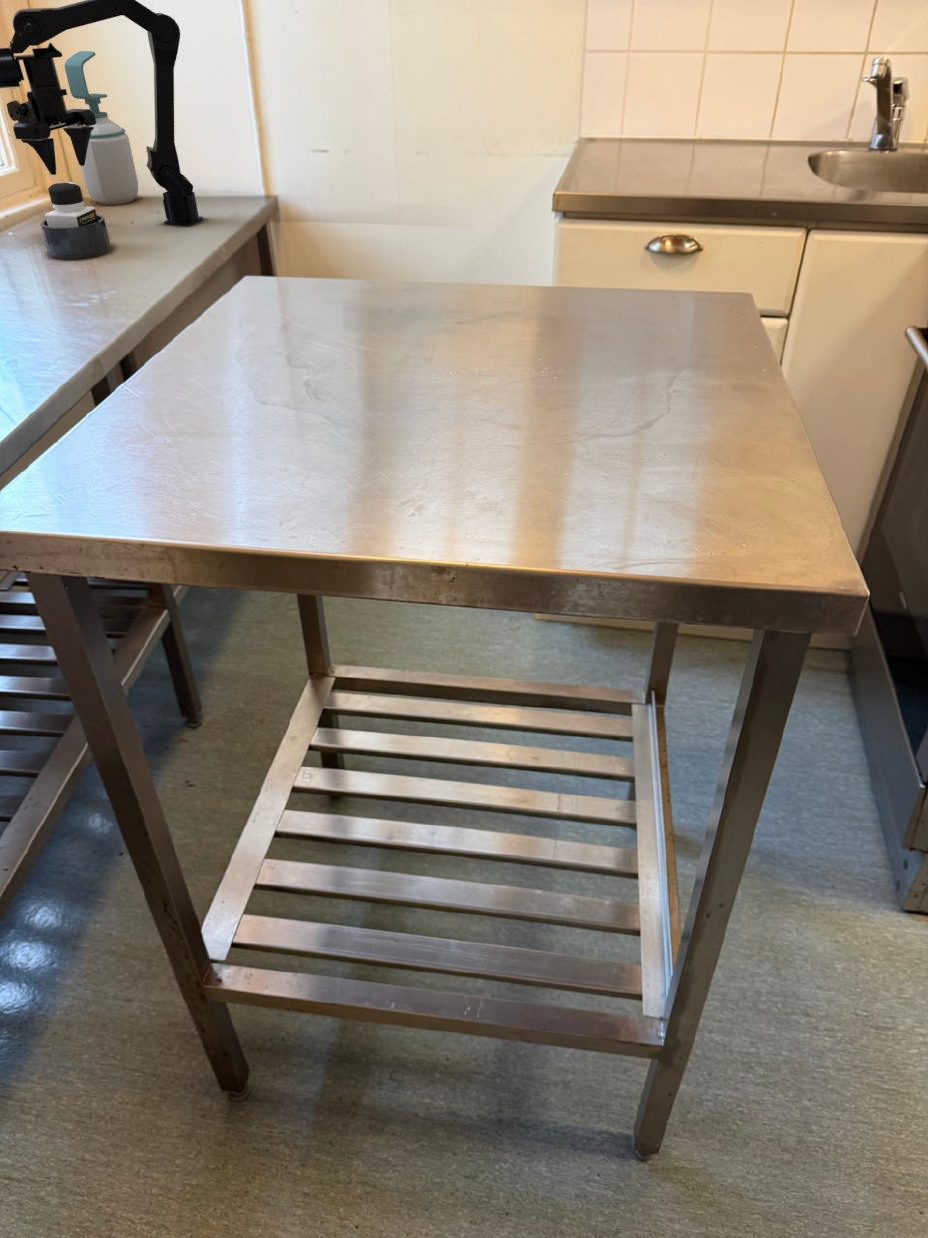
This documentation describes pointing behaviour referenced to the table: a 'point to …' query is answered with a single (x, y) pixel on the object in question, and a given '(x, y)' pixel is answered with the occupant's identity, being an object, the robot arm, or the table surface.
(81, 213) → the medicine bottle
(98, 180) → the soap bottle
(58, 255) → the dark grey round bowl
